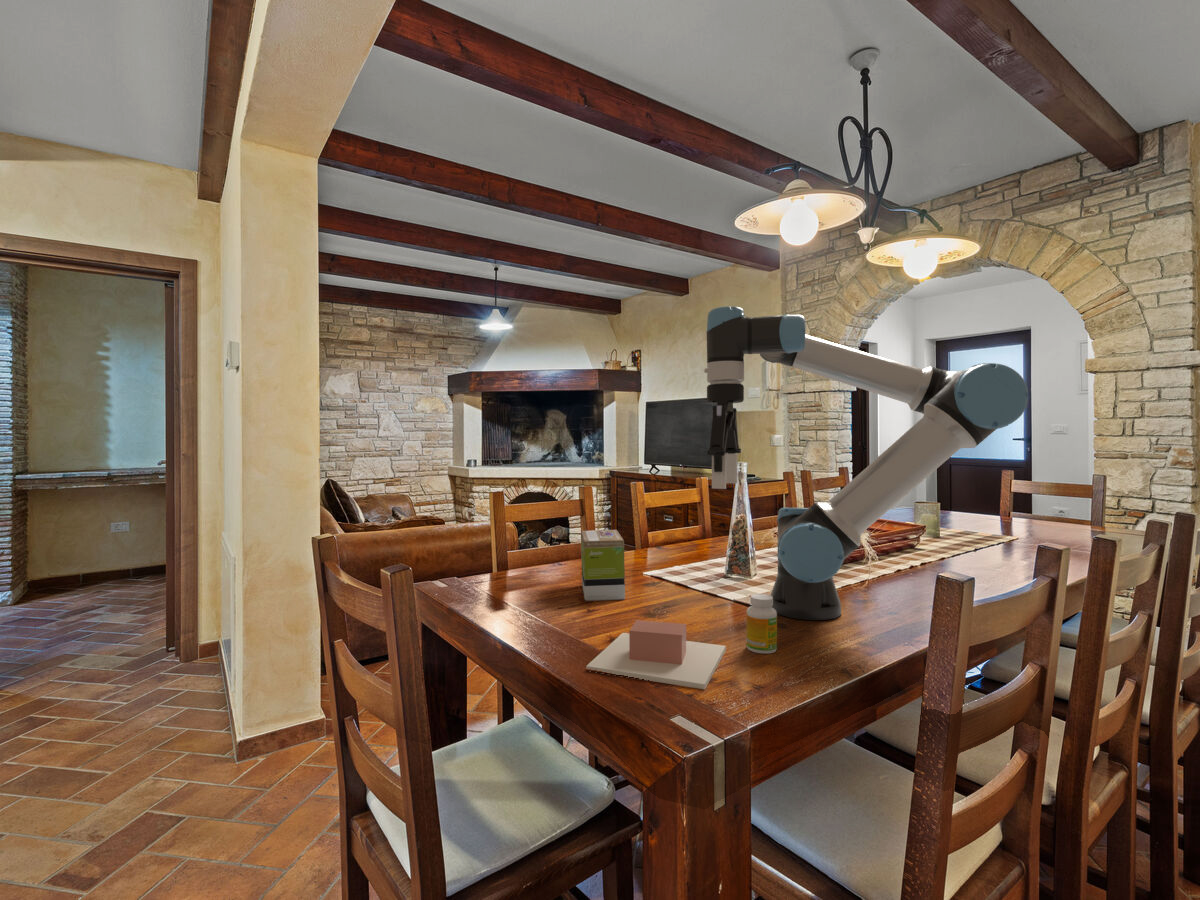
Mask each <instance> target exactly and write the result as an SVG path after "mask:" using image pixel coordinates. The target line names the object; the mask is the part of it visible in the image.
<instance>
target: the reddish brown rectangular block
mask: <svg viewBox="0 0 1200 900" xmlns="http://www.w3.org/2000/svg"><path fill="white" fill-rule="evenodd" d="M628 633H629V649H630V660H640V661H650V662H661V663H671V664H681V665H682V663H683V660H684V657H685V654H686V641H687V624H686V623H678V622H667V621H666V622H664V621H663V622H662V621H654V620H653V621H652V620H640V619H639V620H638V619H636V620H635V622H634V623H633V624H632V626H631V627H630V628H629V632H628Z"/></svg>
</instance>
